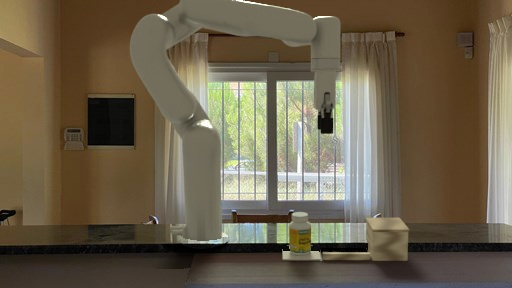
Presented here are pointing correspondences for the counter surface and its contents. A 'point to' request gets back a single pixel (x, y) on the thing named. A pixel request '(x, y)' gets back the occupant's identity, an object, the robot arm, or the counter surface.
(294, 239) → the supplement bottle
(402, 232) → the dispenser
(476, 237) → the counter surface
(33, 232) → the counter surface
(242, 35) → the robot arm
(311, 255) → the mat
